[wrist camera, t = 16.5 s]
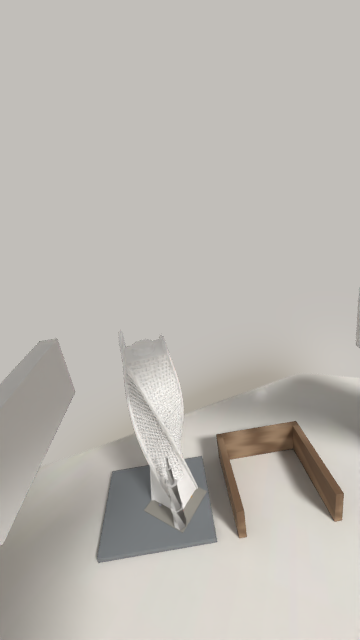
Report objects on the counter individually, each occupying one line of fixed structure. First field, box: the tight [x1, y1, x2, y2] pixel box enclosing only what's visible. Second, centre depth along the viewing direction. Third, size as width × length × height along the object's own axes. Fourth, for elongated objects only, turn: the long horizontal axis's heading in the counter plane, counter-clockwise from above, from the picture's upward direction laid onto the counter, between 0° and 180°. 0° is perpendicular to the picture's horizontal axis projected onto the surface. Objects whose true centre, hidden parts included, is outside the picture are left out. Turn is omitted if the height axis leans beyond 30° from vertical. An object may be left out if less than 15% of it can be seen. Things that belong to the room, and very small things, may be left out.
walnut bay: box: [216, 421, 344, 538], centre depth 45 cm, size 14×14×5 cm
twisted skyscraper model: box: [118, 330, 207, 533], centre depth 41 cm, size 8×8×28 cm
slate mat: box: [97, 456, 217, 563], centre depth 46 cm, size 16×14×1 cm
